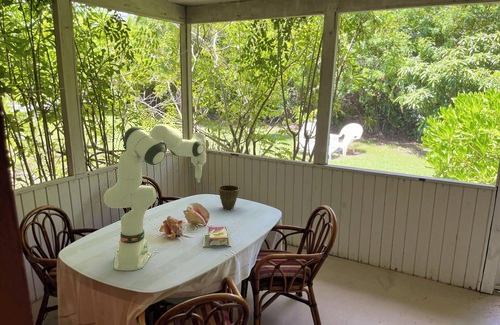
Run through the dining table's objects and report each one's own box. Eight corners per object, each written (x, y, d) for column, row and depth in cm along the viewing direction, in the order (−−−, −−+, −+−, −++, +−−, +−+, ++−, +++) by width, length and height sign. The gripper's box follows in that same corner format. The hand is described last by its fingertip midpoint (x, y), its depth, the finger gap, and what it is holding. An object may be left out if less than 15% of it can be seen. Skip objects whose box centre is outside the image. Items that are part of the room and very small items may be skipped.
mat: (230, 246, 202) (230, 245, 202) (203, 247, 200) (203, 246, 200) (229, 234, 218) (229, 234, 217) (203, 235, 216) (203, 234, 215)
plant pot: (230, 203, 273) (231, 184, 270) (242, 209, 262) (243, 188, 259) (214, 207, 264) (214, 187, 260) (226, 213, 253) (226, 192, 249)
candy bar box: (226, 225, 217) (228, 237, 202) (225, 233, 219) (228, 245, 203) (207, 226, 216) (209, 238, 200) (207, 233, 217) (209, 246, 201)
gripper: (203, 163, 200) (203, 186, 203) (204, 156, 220) (203, 177, 222) (192, 163, 199) (192, 186, 202) (193, 156, 219) (193, 177, 222)
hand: (198, 181), depth 212 cm, fingers closed
